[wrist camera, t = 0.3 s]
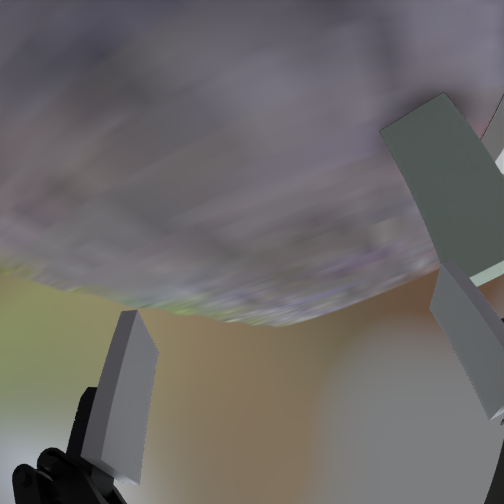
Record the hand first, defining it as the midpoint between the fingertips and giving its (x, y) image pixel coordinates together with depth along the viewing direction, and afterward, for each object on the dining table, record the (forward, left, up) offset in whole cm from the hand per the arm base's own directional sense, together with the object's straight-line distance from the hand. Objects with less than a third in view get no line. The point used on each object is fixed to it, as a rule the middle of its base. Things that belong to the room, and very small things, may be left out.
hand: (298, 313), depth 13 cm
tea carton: (+5, +15, -15) cm, 21 cm away
